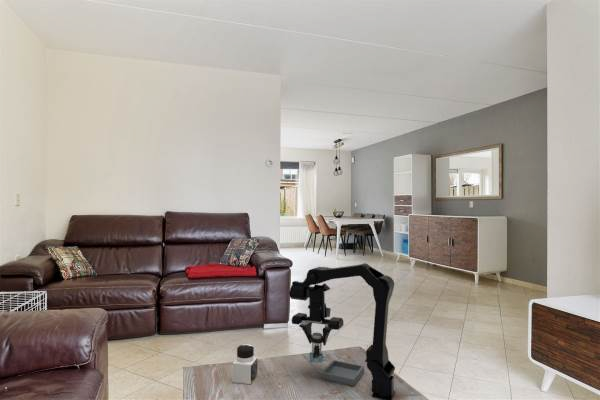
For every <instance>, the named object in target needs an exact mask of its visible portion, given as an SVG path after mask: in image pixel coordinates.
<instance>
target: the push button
mask: <svg viewBox="0 0 600 400" xmlns="http://www.w3.org/2000/svg"><path fill="white" fill-rule="evenodd" d="M310 339H311V340H310V341H311V342H312V343H311V351H310V353H309V362H310V363H315V364H317V363H321V364H322V363H323V362H324V361H328V357H327V356H324V355H323V352H322V349H323V348H322V347H323V346H322V344H323V333H321V332H313V333H312V335H311V336H310Z"/></svg>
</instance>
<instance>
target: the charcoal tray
mask: <svg viewBox="0 0 600 400" xmlns="http://www.w3.org/2000/svg"><path fill="white" fill-rule="evenodd" d="M364 373H365V365H363V364H357V363H352V362H348V361H347V362H346V361H342V360H338V359H337V360H336V359H332V360H331V361H330V363H328V364H327V366H325V368H323V370H321V372H320V380H322V381H326V382H327V381H328V382H332V383H337V384H339V385H345V386H348V387H349V386H350V387H352V388H354V387H355V386H356V384H357V383H358V381H359V380H360V379H361V377H362V376H363V375H364Z"/></svg>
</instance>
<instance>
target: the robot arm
mask: <svg viewBox="0 0 600 400" xmlns="http://www.w3.org/2000/svg"><path fill="white" fill-rule="evenodd" d="M352 277H353V278H354V277H360V278H362V279H363V280H364V282H365V283H366V284H367V285H368V286H369V287H371V288H372V292H373V293H372V295H373V296H372V297H373V299H374V302H375V307H374V323H373V336H372V344H370V345H369V346H368V347H367V349H365V354H366V355H365V356H366V357H365V361H364V362H365V363H366V368H367V369H368V371H369V372H370V373H371V377H372V379H371V392H372V393H371V397H373V398H375V399H376V398H377V399H381V400H393V398H394V396H395V393H396V391H395V389H394V387H395V386H394V385H395V382H394V381H395V376H394V375H393V374H394V372H395V370H396V367H395V365H394V364H393V363H392V362H391V360H390V359H389V351H388V348H387V343H386V341H387V332H388V331H387V329H388V317H389V316H388V315H389V304H390V301H391V298H392V296H393V292H394V289H395V282H394V280H393V278H392V277H391V276H389V275H387V274H386V275H385V274H383V273H382V272H381V271H379V270H377V269H376V268H374V267H372V266H371V265H370V264H368V263H361V264H355V265H353V264H352V265H348V266H339V267H327V266H317V267H314V268H311V269H309V270H308V272H306V277H305V278H304V280H303V281H298V280H294V281H292V283H291V287H289V288H290V289H289V292H288V293H289V297H290V299H291V300H298V301H307V300H308V299H309V301H308V305H307V309H309V314H307V313H305V312H304V313H303V312H297V313H296V314H294V315H292V317H291V324H292V325H299V328H301V329H302V331H303V332H304V335H305V336H306V339H307V341H308V344H311V345H312V342H311V341H310V340H311V339H310V336H311V335H312V334H313V333H312V325H313V324H319V325H324V327H323V328H322V336H323V343H322V344H323V346H324V347H325V346H326V345H327V341H328V340H329V339H328V338H329V336H330V333H331V331H333V330H335V331H336V330H337V331H339V330H340V329H341V328H343V327H344V320H343V319H344V318H342V317H337V316H332V317H331V311H332V309H331V307H330V308H329V307H327V304H326V302H325V301H326V299H325V295H326V294H325V293H326V292H328V291H329V290H331V288H330V286H329V285H328V284H327V283H326V282H328V281H330V280H331V281H332V280H337V279H345V278H352ZM324 282H325V283H324ZM308 315H309V316H308ZM330 317H331V318H330ZM329 318H330V319H329Z"/></svg>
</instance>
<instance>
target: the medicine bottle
mask: <svg viewBox="0 0 600 400" xmlns="http://www.w3.org/2000/svg"><path fill="white" fill-rule="evenodd" d="M254 348H255V347H254V346H253V345H251V344H248V343H246V344H245V343H244V344H240V345H239V346H237V348H236V358H235V360H234V361H233V362H232V383H237V384H244V385H252V384H253V382H254V381H255V379H256V378H257V377H258V356H255V355H254V354H255V353H254V352H255V349H254Z"/></svg>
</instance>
